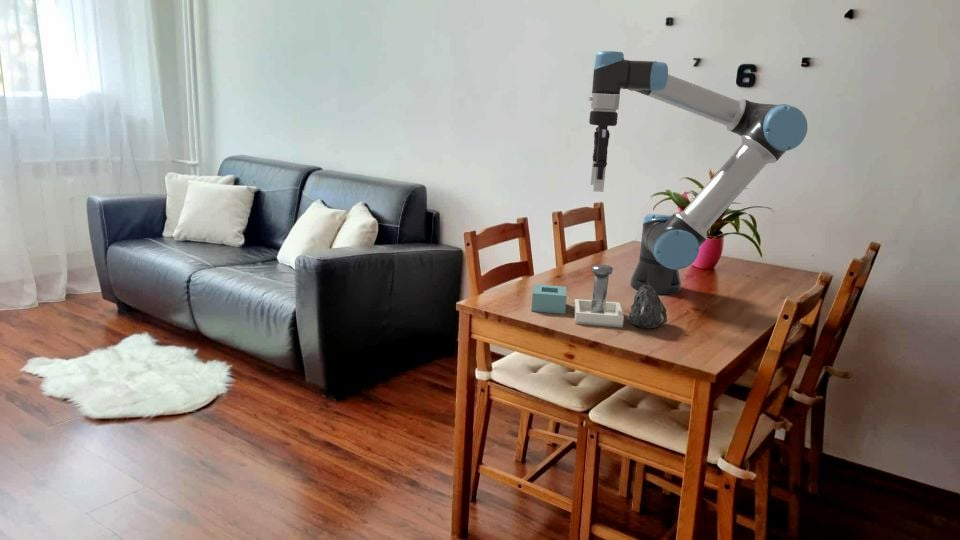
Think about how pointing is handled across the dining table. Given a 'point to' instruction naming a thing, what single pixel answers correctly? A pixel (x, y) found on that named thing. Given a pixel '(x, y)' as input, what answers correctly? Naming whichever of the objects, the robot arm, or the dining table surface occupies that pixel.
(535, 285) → the socket block
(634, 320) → the rock
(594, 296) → the pin
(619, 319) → the tray
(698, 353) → the dining table surface
